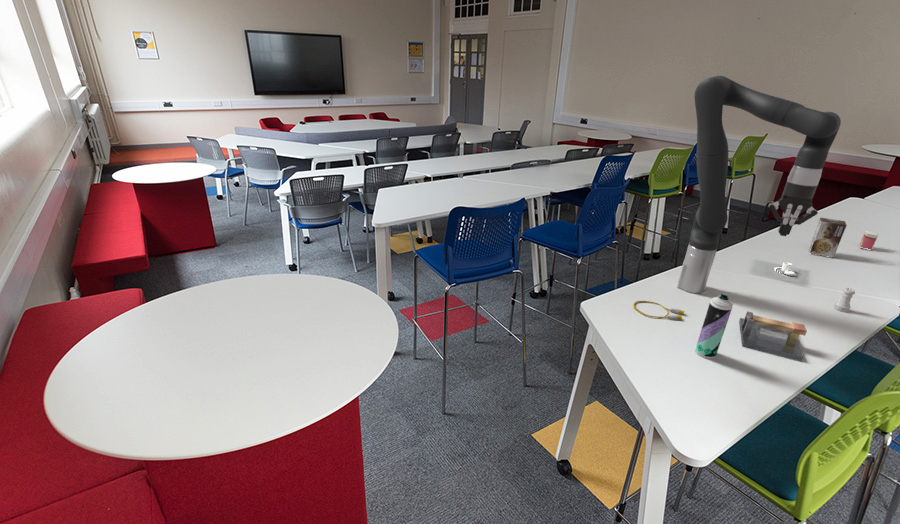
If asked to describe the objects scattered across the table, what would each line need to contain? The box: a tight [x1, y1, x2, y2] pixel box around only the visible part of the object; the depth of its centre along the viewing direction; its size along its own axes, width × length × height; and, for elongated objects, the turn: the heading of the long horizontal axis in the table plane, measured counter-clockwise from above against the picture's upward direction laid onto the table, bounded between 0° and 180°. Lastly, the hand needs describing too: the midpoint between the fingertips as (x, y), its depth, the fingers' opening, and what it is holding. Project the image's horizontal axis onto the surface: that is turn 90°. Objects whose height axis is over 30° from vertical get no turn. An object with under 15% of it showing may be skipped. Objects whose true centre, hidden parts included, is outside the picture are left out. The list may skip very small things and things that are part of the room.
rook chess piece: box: [833, 287, 856, 313], centre depth 156 cm, size 4×4×8 cm
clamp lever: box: [745, 313, 808, 337], centre depth 136 cm, size 15×4×2 cm, turn 62°
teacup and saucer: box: [773, 261, 796, 277], centre depth 185 cm, size 9×8×4 cm
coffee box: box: [807, 217, 847, 258], centre depth 201 cm, size 9×6×16 cm
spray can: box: [694, 292, 734, 360], centre depth 127 cm, size 6×6×20 cm
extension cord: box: [633, 300, 685, 321], centre depth 152 cm, size 12×16×2 cm
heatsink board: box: [738, 311, 804, 362], centre depth 137 cm, size 15×16×7 cm
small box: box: [858, 230, 879, 250], centre depth 211 cm, size 5×4×8 cm
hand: (782, 235), depth 141 cm, fingers closed
